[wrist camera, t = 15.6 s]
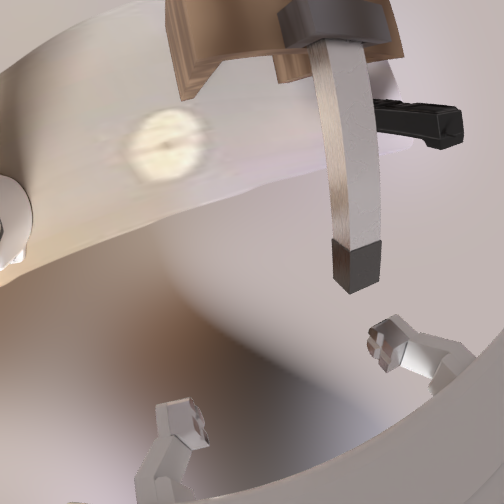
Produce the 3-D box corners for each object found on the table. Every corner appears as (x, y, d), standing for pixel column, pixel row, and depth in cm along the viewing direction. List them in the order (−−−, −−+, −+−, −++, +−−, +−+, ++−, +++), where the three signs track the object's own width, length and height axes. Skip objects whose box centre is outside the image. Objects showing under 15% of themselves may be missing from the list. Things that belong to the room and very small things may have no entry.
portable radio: (367, 97, 43) (476, 102, 22) (373, 125, 46) (480, 144, 25) (336, 103, 43) (450, 105, 21) (344, 133, 46) (455, 154, 24)
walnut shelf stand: (181, 101, 36) (206, 38, 10) (165, 26, 29) (175, -104, 3) (289, 82, 39) (440, 54, 13) (273, 13, 32) (393, -69, 6)
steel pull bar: (333, 278, 24) (349, 294, 21) (290, -7, 12) (307, -21, 10) (361, 267, 24) (378, 281, 22) (327, -3, 13) (347, -14, 10)
